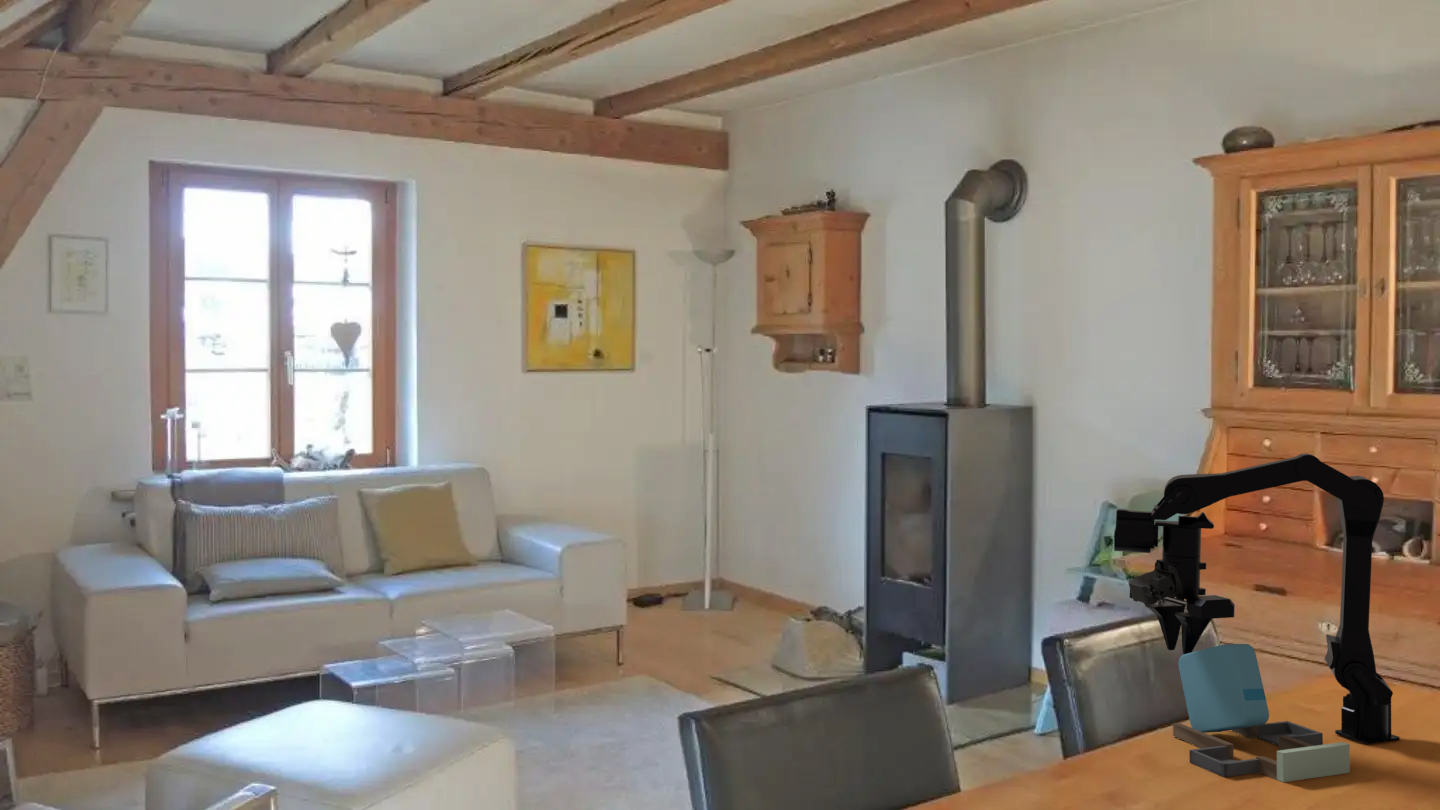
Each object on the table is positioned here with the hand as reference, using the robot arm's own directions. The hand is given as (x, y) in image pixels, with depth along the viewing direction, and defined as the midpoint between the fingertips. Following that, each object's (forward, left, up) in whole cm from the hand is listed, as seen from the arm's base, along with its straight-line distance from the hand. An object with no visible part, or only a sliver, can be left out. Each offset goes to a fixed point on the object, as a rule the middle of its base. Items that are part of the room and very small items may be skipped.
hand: (1178, 652), depth 202 cm
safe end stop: (0, +28, -11) cm, 30 cm away
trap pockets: (0, +16, -12) cm, 20 cm away
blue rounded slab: (0, +11, -10) cm, 15 cm away
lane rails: (0, +16, -12) cm, 20 cm away
